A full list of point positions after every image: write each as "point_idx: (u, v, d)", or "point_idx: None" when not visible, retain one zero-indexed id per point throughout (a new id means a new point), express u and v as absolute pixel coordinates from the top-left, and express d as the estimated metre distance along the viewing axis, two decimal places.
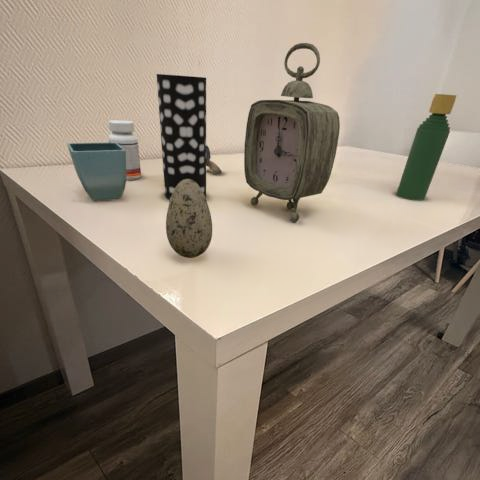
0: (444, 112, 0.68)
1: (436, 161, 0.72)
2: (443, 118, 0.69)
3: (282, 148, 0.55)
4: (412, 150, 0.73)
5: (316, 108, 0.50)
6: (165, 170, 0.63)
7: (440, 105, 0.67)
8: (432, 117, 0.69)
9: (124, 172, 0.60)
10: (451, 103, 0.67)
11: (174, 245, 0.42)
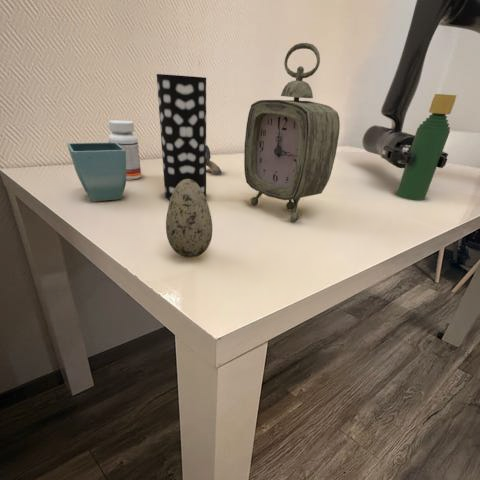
0: (444, 112, 0.68)
1: (436, 161, 0.72)
2: (443, 118, 0.69)
3: (282, 148, 0.55)
4: (412, 150, 0.73)
5: (316, 108, 0.50)
6: (165, 170, 0.63)
7: (440, 105, 0.67)
8: (432, 117, 0.69)
9: (124, 172, 0.60)
10: (451, 103, 0.67)
11: (174, 245, 0.42)
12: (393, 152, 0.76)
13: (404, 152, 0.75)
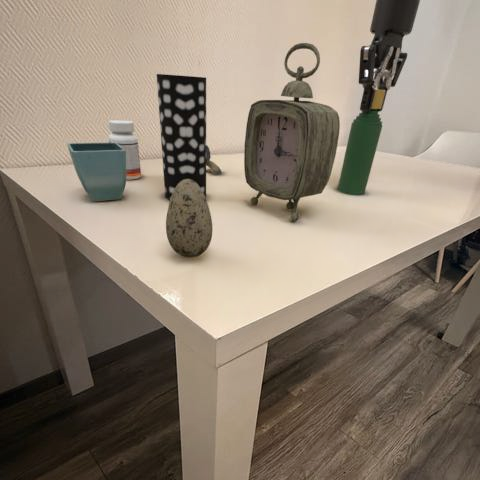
0: (374, 107, 0.68)
1: (371, 156, 0.73)
2: (374, 113, 0.69)
3: (282, 148, 0.55)
4: (348, 145, 0.74)
5: (316, 108, 0.50)
6: (165, 170, 0.63)
7: None
8: (364, 112, 0.70)
9: (124, 172, 0.60)
10: (380, 98, 0.67)
11: (174, 245, 0.42)
12: (367, 83, 0.64)
13: (373, 89, 0.66)
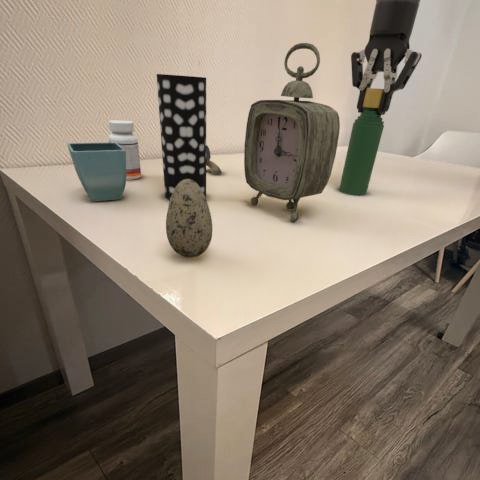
0: None
1: (372, 156, 0.73)
2: (375, 113, 0.69)
3: (282, 148, 0.55)
4: (349, 145, 0.74)
5: (316, 108, 0.50)
6: (165, 170, 0.63)
7: None
8: (365, 112, 0.70)
9: (124, 172, 0.60)
10: None
11: (174, 245, 0.42)
12: (401, 88, 0.65)
13: None
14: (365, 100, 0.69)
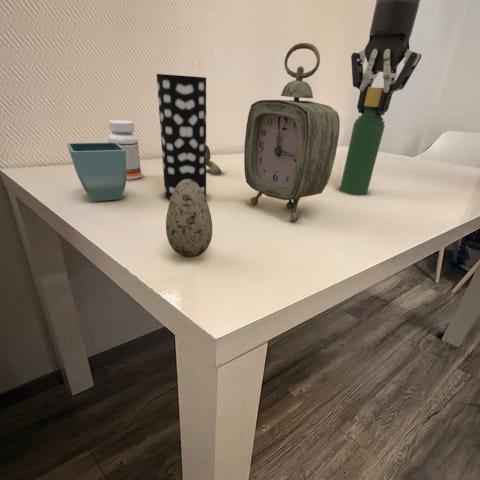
0: (365, 104, 0.69)
1: (373, 156, 0.73)
2: (376, 113, 0.69)
3: (282, 148, 0.55)
4: (350, 145, 0.74)
5: (316, 108, 0.50)
6: (165, 170, 0.63)
7: None
8: (366, 112, 0.70)
9: (124, 172, 0.60)
10: (370, 95, 0.68)
11: (174, 245, 0.42)
12: (400, 89, 0.65)
13: None
14: None
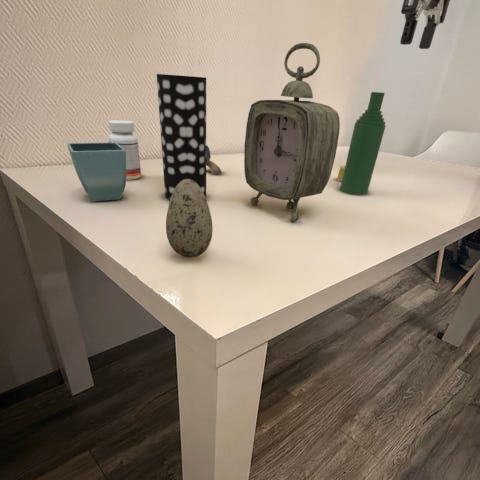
0: None
1: (373, 156, 0.73)
2: (377, 113, 0.69)
3: (282, 148, 0.55)
4: (351, 145, 0.74)
5: (316, 108, 0.50)
6: (165, 170, 0.63)
7: None
8: (367, 112, 0.70)
9: (124, 172, 0.60)
10: None
11: (174, 245, 0.42)
12: None
13: None
14: None
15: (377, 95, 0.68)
